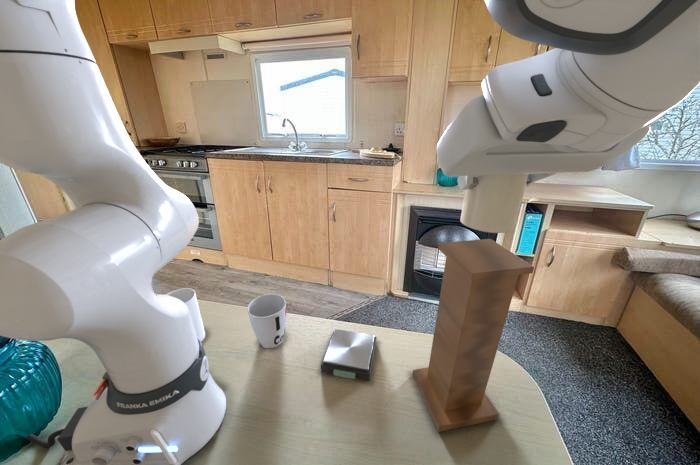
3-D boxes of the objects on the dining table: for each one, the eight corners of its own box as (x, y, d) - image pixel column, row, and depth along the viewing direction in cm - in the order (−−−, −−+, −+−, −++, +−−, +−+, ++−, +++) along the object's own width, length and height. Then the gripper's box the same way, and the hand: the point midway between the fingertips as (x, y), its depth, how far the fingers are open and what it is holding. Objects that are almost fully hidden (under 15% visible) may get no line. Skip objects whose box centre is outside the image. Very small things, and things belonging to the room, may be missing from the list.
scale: (320, 374, 56) (319, 364, 55) (334, 336, 65) (333, 327, 64) (369, 383, 54) (369, 373, 53) (376, 343, 63) (376, 334, 62)
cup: (280, 356, 60) (275, 320, 56) (246, 350, 61) (239, 314, 57) (294, 329, 67) (291, 296, 63) (264, 325, 69) (258, 291, 65)
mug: (185, 328, 68) (172, 287, 63) (211, 329, 67) (201, 288, 63) (157, 362, 58) (139, 317, 54) (188, 363, 58) (173, 319, 53)
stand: (438, 432, 46) (469, 278, 34) (412, 375, 56) (429, 240, 44) (497, 419, 48) (547, 270, 36) (462, 366, 58) (492, 235, 46)
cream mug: (479, 234, 34) (496, 151, 30) (442, 210, 43) (452, 142, 39) (526, 231, 35) (549, 150, 31) (481, 208, 44) (495, 142, 40)
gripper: (665, 74, 27) (550, 161, 39) (472, 67, 23) (414, 165, 36) (703, 126, 24) (568, 201, 37) (496, 127, 21) (425, 209, 33)
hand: (491, 183), depth 36 cm, fingers closed on cream mug, 7 cm apart
